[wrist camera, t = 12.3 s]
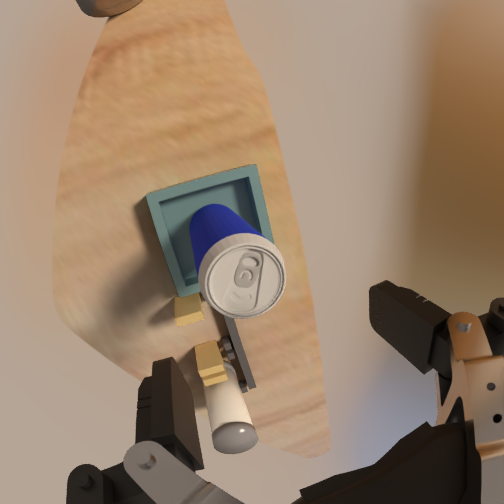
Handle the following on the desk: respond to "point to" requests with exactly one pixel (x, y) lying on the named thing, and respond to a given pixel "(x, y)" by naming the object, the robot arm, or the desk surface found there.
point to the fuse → (229, 415)
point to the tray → (190, 201)
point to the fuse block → (212, 344)
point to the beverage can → (235, 263)
